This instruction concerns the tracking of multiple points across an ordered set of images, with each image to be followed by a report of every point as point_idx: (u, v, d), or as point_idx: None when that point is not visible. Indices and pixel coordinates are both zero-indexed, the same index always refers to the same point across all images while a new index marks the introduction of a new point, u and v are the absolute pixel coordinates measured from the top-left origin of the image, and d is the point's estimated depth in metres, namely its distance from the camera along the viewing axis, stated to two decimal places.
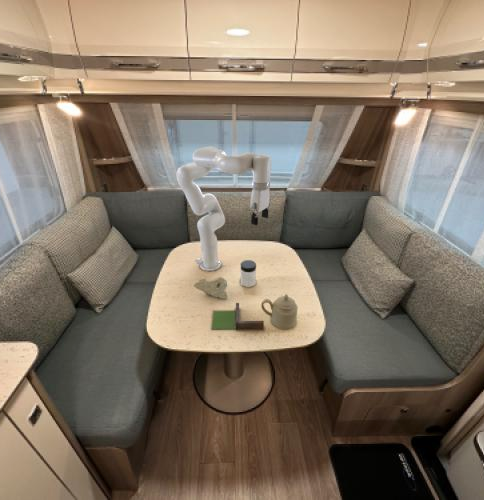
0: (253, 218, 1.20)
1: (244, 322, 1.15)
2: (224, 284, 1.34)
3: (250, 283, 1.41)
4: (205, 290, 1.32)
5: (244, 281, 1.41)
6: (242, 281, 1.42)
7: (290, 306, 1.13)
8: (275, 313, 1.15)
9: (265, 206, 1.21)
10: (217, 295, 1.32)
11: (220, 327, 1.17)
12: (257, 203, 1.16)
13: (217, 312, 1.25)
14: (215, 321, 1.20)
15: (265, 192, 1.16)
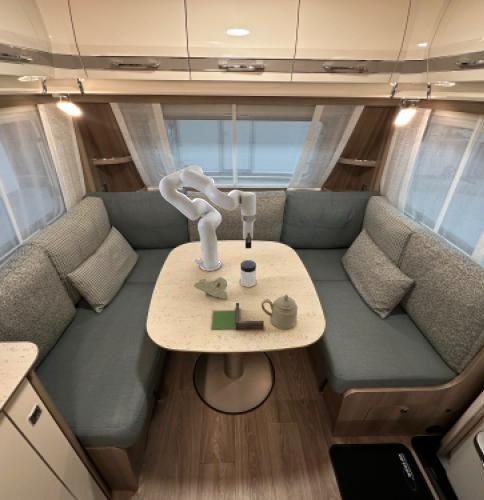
0: (248, 243, 1.43)
1: (244, 322, 1.15)
2: (224, 284, 1.34)
3: (250, 283, 1.41)
4: (205, 290, 1.32)
5: (244, 281, 1.41)
6: (242, 281, 1.42)
7: (290, 306, 1.13)
8: (275, 313, 1.15)
9: None
10: (217, 295, 1.32)
11: (220, 327, 1.17)
12: (251, 232, 1.36)
13: (217, 312, 1.25)
14: (215, 321, 1.20)
15: None
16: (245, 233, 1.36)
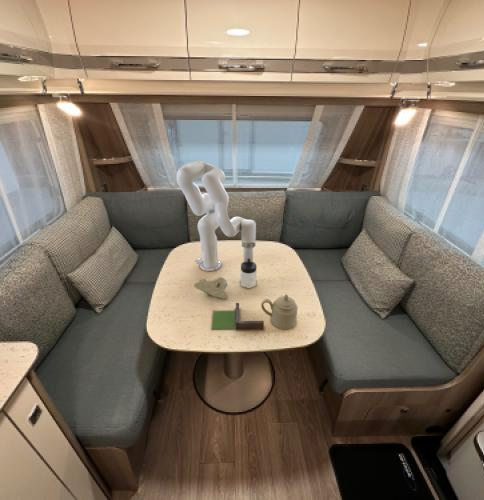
0: None
1: (244, 322, 1.15)
2: (224, 284, 1.34)
3: (250, 284, 1.40)
4: (205, 290, 1.32)
5: (244, 282, 1.40)
6: (242, 282, 1.41)
7: (290, 306, 1.13)
8: (275, 313, 1.15)
9: None
10: (217, 295, 1.32)
11: (220, 327, 1.17)
12: (251, 258, 1.40)
13: (217, 312, 1.25)
14: (215, 321, 1.20)
15: None
16: (245, 259, 1.40)
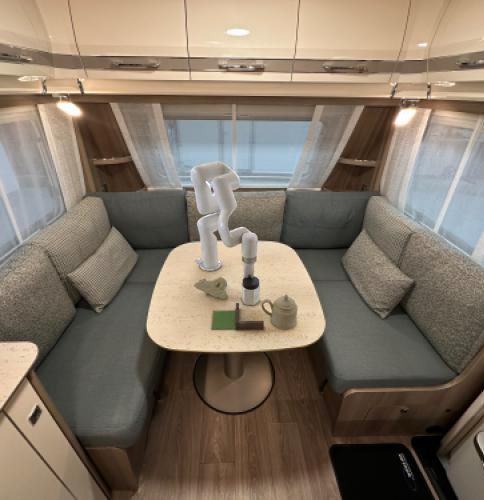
0: None
1: (244, 322, 1.15)
2: (224, 284, 1.34)
3: (254, 301, 1.29)
4: (205, 290, 1.32)
5: (248, 299, 1.28)
6: (245, 300, 1.29)
7: (290, 306, 1.13)
8: (275, 313, 1.15)
9: None
10: (217, 295, 1.32)
11: (220, 327, 1.17)
12: (251, 274, 1.28)
13: (217, 312, 1.25)
14: (215, 321, 1.20)
15: None
16: (245, 275, 1.28)
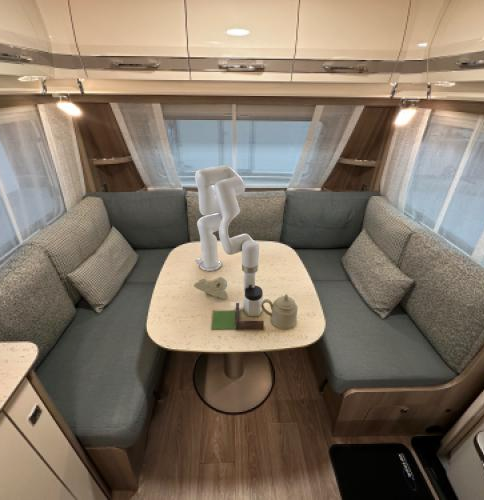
0: None
1: (244, 322, 1.15)
2: (224, 284, 1.34)
3: (259, 311, 1.23)
4: (205, 290, 1.32)
5: (252, 311, 1.22)
6: (250, 311, 1.22)
7: (290, 306, 1.13)
8: (275, 313, 1.15)
9: None
10: (217, 295, 1.32)
11: (220, 327, 1.17)
12: (252, 284, 1.21)
13: (217, 312, 1.25)
14: (215, 321, 1.20)
15: None
16: (246, 285, 1.21)
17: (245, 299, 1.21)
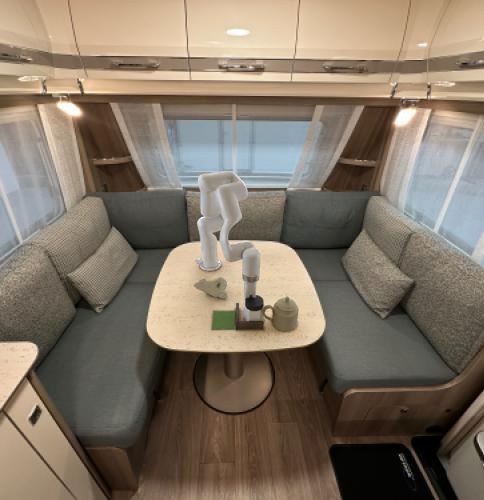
0: None
1: (244, 322, 1.15)
2: (224, 284, 1.34)
3: None
4: (205, 290, 1.32)
5: None
6: None
7: (293, 307, 1.12)
8: (279, 318, 1.13)
9: None
10: (217, 295, 1.32)
11: (220, 327, 1.17)
12: (253, 294, 1.15)
13: (217, 312, 1.25)
14: (215, 321, 1.20)
15: None
16: (247, 295, 1.16)
17: (245, 309, 1.15)
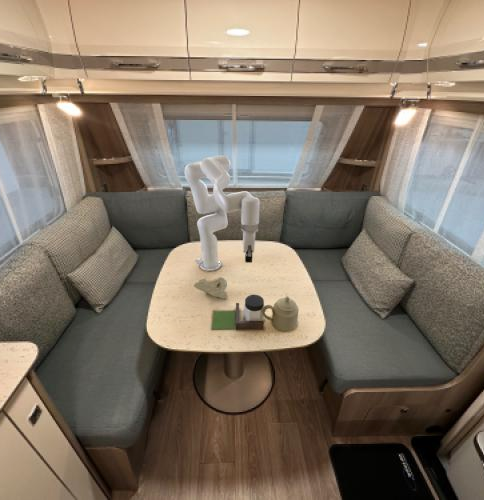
0: (248, 257, 1.20)
1: (244, 322, 1.15)
2: (224, 284, 1.34)
3: None
4: (205, 290, 1.32)
5: None
6: None
7: (293, 307, 1.12)
8: (279, 317, 1.13)
9: None
10: (217, 295, 1.32)
11: (220, 327, 1.17)
12: (252, 244, 1.13)
13: (217, 312, 1.25)
14: (215, 321, 1.20)
15: (255, 232, 1.15)
16: (245, 246, 1.13)
17: (246, 309, 1.15)
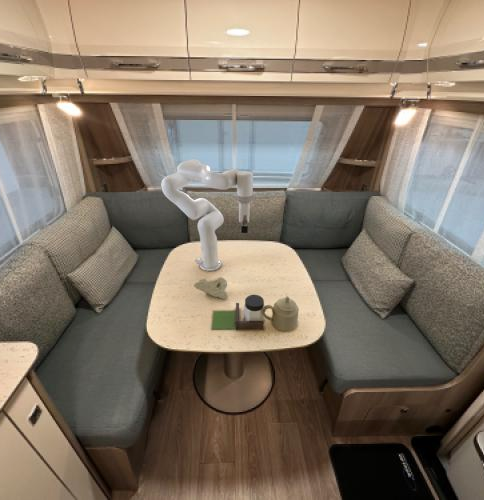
0: (244, 227, 1.35)
1: (244, 322, 1.15)
2: (224, 284, 1.34)
3: None
4: (205, 290, 1.32)
5: None
6: None
7: (293, 307, 1.12)
8: (279, 318, 1.13)
9: None
10: (217, 295, 1.32)
11: (220, 327, 1.17)
12: (247, 214, 1.28)
13: (217, 312, 1.25)
14: (215, 321, 1.20)
15: None
16: (241, 216, 1.28)
17: (246, 309, 1.15)
